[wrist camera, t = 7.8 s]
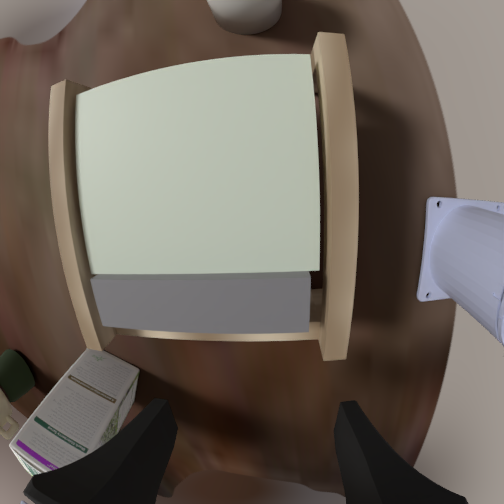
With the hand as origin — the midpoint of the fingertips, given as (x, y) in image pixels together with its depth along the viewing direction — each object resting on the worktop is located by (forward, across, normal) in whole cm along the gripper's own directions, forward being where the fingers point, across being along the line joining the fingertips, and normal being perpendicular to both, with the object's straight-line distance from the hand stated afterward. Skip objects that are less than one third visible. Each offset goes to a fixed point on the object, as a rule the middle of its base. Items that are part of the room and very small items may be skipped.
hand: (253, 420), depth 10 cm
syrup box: (+11, +15, +8) cm, 20 cm away
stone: (+10, 0, -22) cm, 24 cm away
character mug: (+11, +33, +11) cm, 36 cm away
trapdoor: (+5, +3, -9) cm, 11 cm away
